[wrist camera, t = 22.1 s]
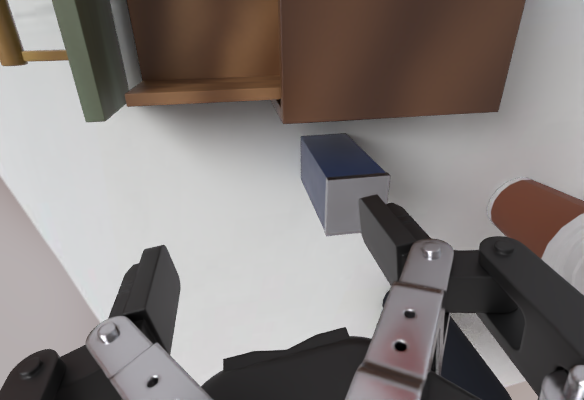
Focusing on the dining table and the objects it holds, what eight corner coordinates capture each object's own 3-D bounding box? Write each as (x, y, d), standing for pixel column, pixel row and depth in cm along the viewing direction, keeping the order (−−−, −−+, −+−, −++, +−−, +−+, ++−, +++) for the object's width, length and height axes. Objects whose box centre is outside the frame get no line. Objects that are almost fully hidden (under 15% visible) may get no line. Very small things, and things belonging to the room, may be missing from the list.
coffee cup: (500, 159, 38) (604, 212, 28) (565, 173, 41) (684, 228, 30) (462, 231, 42) (541, 302, 31) (524, 240, 44) (617, 310, 34)
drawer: (49, 103, 28) (0, 127, 22) (-22, -122, 22) (-118, -176, 16) (294, 92, 31) (311, 110, 25) (292, -112, 25) (313, -154, 18)
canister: (300, 135, 34) (327, 180, 24) (346, 132, 34) (390, 175, 25) (300, 179, 36) (326, 236, 26) (344, 176, 36) (384, 230, 27)
